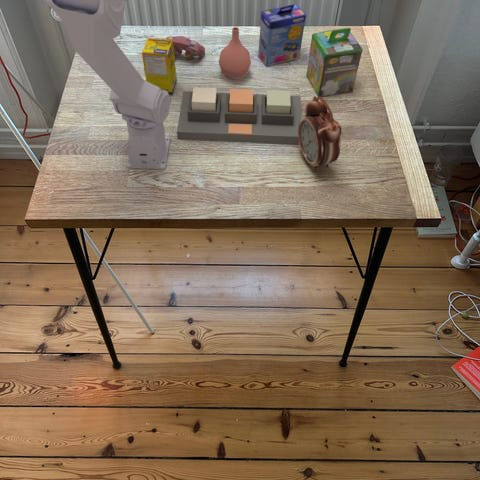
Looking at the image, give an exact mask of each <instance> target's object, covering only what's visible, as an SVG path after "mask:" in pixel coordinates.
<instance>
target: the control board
mask: <svg viewBox="0 0 480 480" xmlns="http://www.w3.org/2000/svg"><path fill="white" fill-rule="evenodd" d="M192 96H193V91H188V90H187V91H186V90H183V91H182V97H181V103H180V104H181V105H180V110H179V116H178V122H177V127H176V128H177V129H176V138H177V140H189V141H190V140H193V141H195V140H196V141H216V142H219V141H220V142H222V141H223V142H238V143H240V142H241V143H243V142H245V143H266V144H267V143H268V144H289V145H290V144H294V145H295V144H296V145H300V144H299V138H298V127H299V122H300V119H301V117H302V116H303V114H302V101H301V100H302V99H301V96H300V95H290V104H291V107H290V114H269V113H266V97H267V94H259V93H253V111H252V113H244V112H229V101H230V92H217V102H216V111H196V110H192Z"/></svg>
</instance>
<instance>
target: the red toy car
mask: <svg viewBox="0 0 480 480" xmlns="http://www.w3.org/2000/svg"><path fill="white" fill-rule="evenodd" d="M165 39H170V40H173V47H174V56H177V57H181V56H182V54H183V51H184V54H183V55H184V57H185V58H187V59H191V60H192V59H193V58H194V57H203V56H204V55H205V52H206V48H205V47H204V46H203V45H202V44H200V43H199V42H197V41H195V40H192V39H189V38H187V37H186V36H183V35H178V36H171V35H169V36H167V37H166V38H165Z"/></svg>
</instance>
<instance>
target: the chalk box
mask: <svg viewBox="0 0 480 480" xmlns="http://www.w3.org/2000/svg"><path fill="white" fill-rule="evenodd" d="M351 31H352V28H351V27H345V28H337V29H332V30H324V31H319V32H314V33H312V34H311V40H310V47H309V55H308V62H307V70H306V76H307V79H308V80H309V83H310V84H311V86H312V87H313V89H314V91H315V93H316V94H317V97H324V96H331V95H337V94H339V95H340V94H343V93H344V94H345V93H352V92H354V85H355V82H356V78H357V74H358V70H359V66H360V62H361V57H362V54H363V49H364V48H363V47H362V46H361V45H360V43H359V42H358V41H357V38H356V37H355V36H354V35H353V34H352V32H351Z"/></svg>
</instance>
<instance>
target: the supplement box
mask: <svg viewBox="0 0 480 480" xmlns="http://www.w3.org/2000/svg"><path fill="white" fill-rule="evenodd" d="M141 56H142V62H143V63H142V64H143V69H144V76H145V77H144V78H145V81H147V82H149V83H151V84H153V85H155V86H157V87H159V88H160V89H161V90H165V91H167V92H168V94H169V96H173V94H174V90H175V86H176V84H177V81H178V80H177V79H178V78H177V70H176V59H175V58H176V57H175V55H174V47H173V40H170V39H166V38H157V37H156V38H154V37H147V39H146V41H145V43H144V46H143V47H142V51H141Z"/></svg>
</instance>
